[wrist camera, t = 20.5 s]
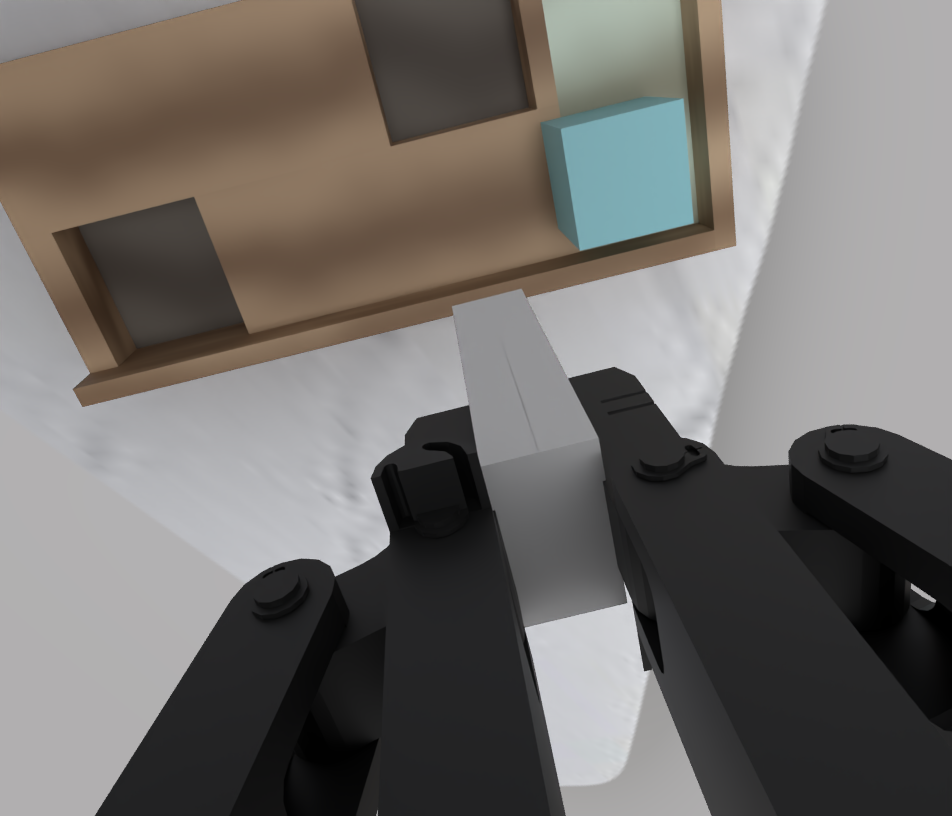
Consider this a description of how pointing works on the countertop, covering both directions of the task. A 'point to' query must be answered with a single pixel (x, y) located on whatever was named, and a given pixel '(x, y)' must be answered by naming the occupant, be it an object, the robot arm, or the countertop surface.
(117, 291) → the trap board
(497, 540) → the robot arm
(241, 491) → the countertop surface
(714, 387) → the countertop surface
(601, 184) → the teal block
